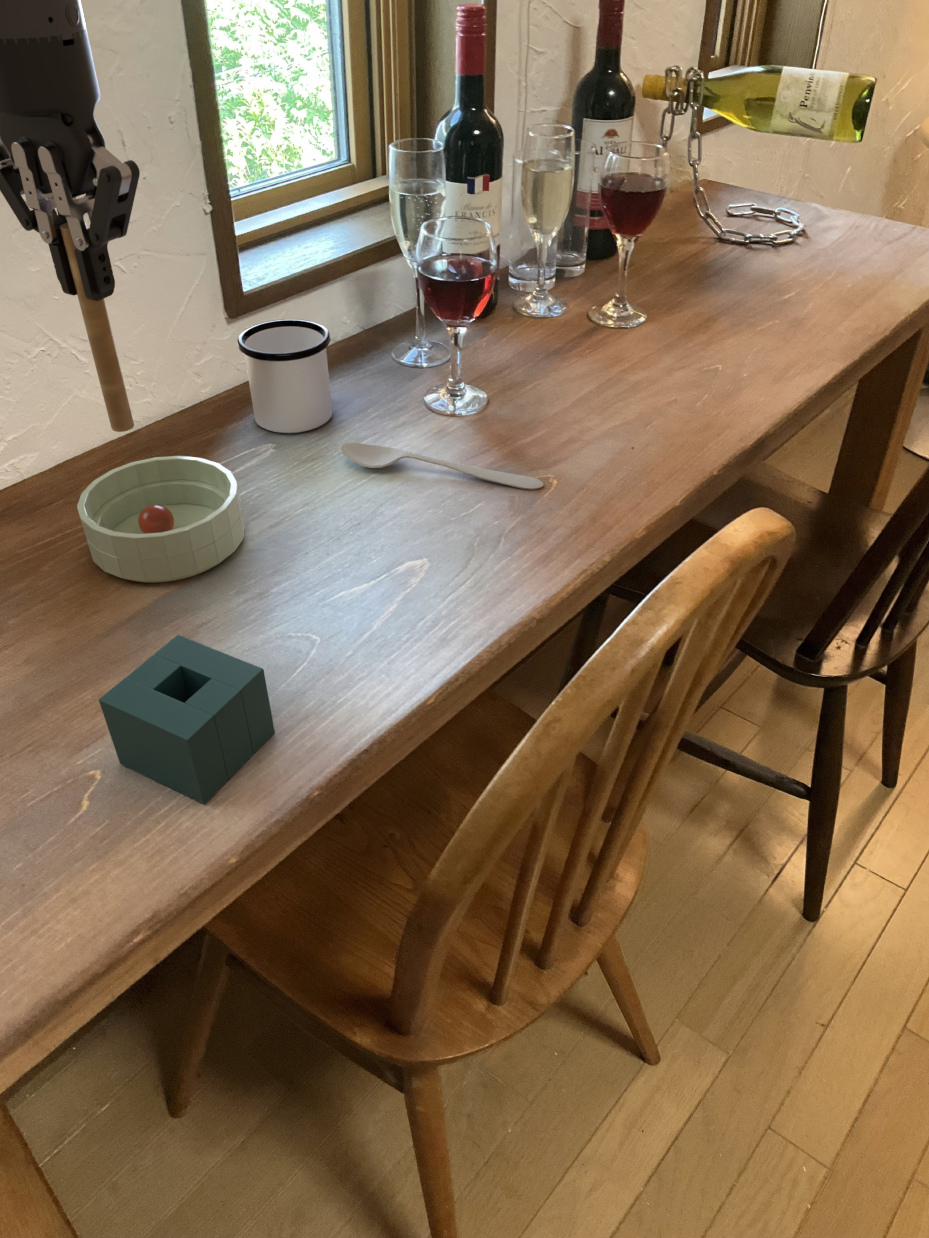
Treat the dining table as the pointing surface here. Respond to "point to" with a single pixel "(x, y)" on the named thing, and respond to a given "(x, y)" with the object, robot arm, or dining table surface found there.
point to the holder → (189, 717)
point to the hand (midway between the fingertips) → (89, 293)
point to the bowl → (193, 497)
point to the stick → (101, 346)
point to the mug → (288, 374)
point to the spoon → (387, 456)
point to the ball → (155, 519)
